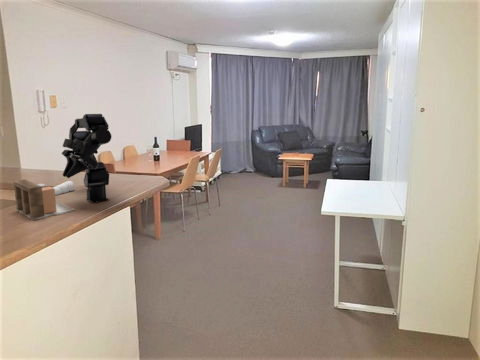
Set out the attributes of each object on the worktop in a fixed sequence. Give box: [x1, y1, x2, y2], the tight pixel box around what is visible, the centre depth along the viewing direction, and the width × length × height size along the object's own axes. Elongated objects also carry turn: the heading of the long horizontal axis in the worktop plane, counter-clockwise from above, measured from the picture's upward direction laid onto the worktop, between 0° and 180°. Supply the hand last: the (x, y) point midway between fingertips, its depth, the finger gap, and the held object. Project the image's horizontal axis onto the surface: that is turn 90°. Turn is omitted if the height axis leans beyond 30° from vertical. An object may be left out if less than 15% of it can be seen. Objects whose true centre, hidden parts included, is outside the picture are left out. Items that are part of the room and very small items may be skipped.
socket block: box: [13, 179, 76, 221], centre depth 142 cm, size 15×15×11 cm
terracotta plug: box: [42, 186, 57, 214], centre depth 138 cm, size 6×4×8 cm, turn 138°
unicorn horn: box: [52, 180, 75, 196], centre depth 163 cm, size 5×24×5 cm, turn 150°
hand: (65, 176), depth 143 cm, fingers open, 3 cm apart
